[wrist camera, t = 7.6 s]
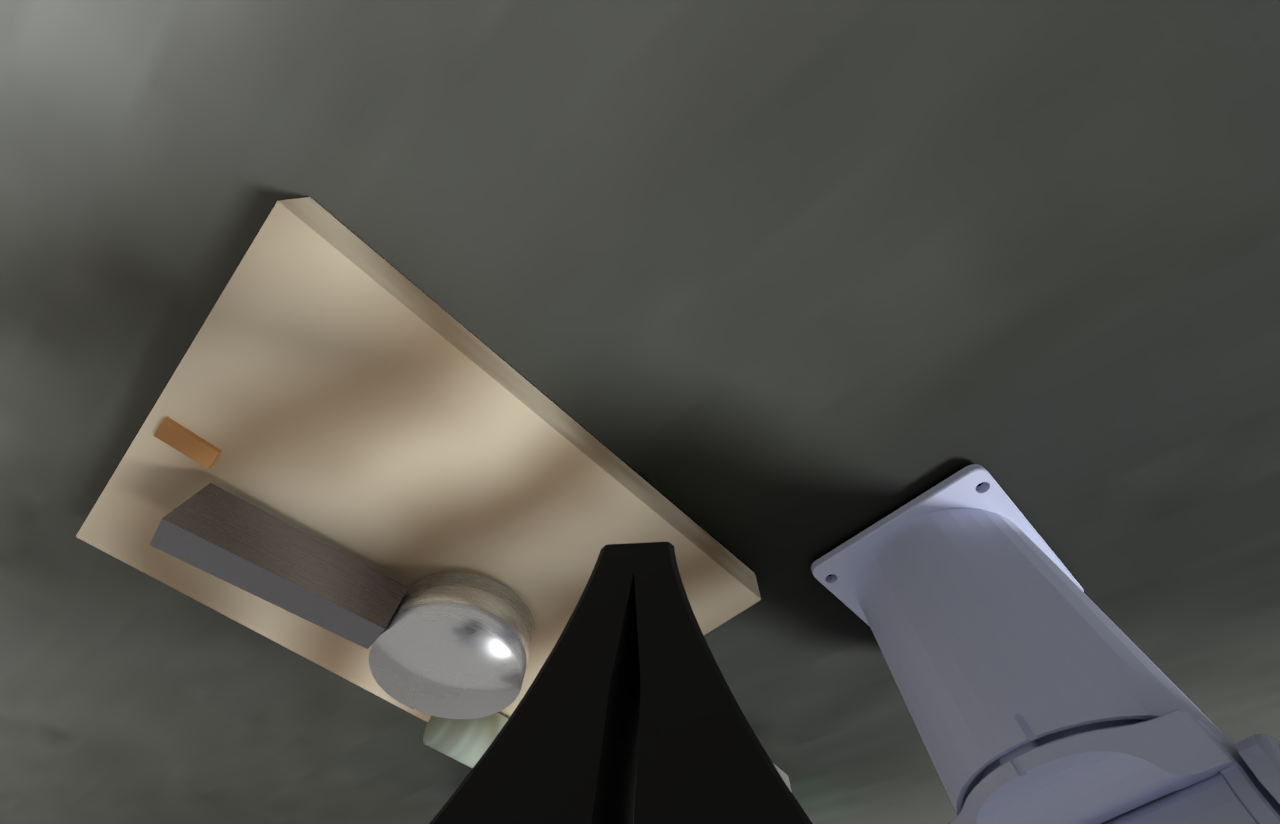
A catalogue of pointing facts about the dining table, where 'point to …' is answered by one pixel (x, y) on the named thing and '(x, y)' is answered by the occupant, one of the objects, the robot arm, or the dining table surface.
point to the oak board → (386, 457)
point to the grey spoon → (367, 605)
